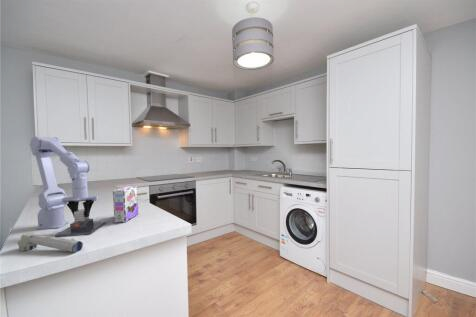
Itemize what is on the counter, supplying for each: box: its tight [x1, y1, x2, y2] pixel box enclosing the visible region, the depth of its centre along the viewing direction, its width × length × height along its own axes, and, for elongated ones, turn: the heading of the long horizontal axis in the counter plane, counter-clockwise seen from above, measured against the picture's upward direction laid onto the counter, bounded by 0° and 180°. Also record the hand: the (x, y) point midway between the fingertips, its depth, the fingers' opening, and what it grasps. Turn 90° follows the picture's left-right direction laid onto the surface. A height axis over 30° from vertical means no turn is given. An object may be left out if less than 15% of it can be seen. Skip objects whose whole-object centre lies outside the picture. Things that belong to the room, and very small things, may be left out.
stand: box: [54, 218, 107, 238], centre depth 100 cm, size 14×14×4 cm
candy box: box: [112, 185, 139, 224], centre depth 114 cm, size 14×6×16 cm, turn 179°
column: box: [73, 208, 90, 223], centre depth 99 cm, size 4×4×7 cm
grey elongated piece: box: [17, 231, 84, 253], centre depth 80 cm, size 5×7×25 cm
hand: (81, 216), depth 99 cm, fingers closed on column, 4 cm apart
